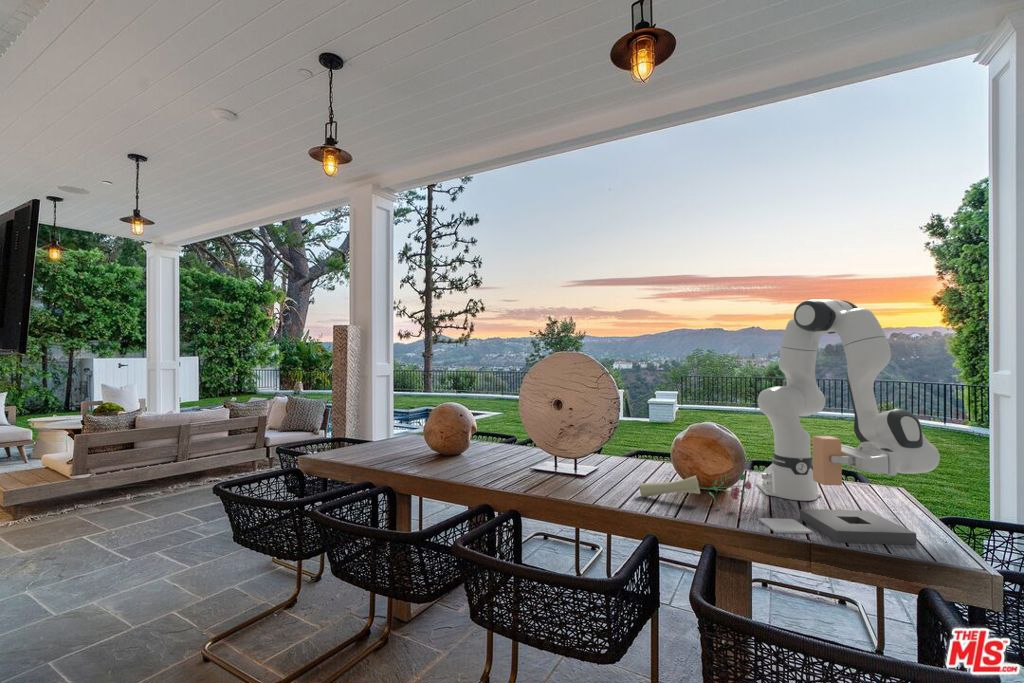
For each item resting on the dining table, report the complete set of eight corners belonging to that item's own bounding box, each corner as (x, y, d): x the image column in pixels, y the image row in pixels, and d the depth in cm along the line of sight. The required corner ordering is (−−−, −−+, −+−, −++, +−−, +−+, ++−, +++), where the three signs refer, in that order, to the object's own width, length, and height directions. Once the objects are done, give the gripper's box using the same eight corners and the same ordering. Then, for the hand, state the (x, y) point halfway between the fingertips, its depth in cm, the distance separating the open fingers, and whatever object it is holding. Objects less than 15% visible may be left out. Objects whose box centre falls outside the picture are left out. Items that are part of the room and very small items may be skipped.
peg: (813, 480, 136) (812, 435, 136) (830, 480, 136) (830, 436, 136) (823, 485, 131) (822, 438, 131) (841, 485, 131) (841, 439, 131)
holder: (799, 518, 141) (799, 508, 141) (868, 520, 140) (868, 510, 140) (837, 542, 123) (836, 530, 123) (916, 544, 122) (916, 533, 122)
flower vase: (649, 516, 165) (758, 508, 150) (641, 516, 155) (756, 507, 140) (644, 482, 169) (748, 470, 155) (635, 479, 159) (746, 467, 145)
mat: (758, 520, 140) (758, 518, 140) (793, 520, 139) (793, 518, 139) (775, 532, 130) (775, 530, 130) (812, 533, 129) (812, 531, 129)
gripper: (848, 439, 143) (802, 438, 144) (900, 453, 123) (846, 453, 123) (849, 459, 143) (802, 459, 144) (901, 477, 123) (846, 476, 123)
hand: (823, 456), depth 133 cm, fingers closed on peg, 5 cm apart
